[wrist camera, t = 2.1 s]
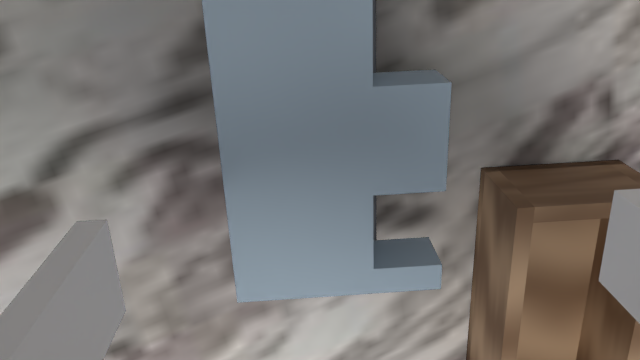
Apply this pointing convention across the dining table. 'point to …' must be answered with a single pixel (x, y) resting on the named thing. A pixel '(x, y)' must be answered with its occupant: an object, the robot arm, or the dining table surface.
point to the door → (320, 148)
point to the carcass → (547, 265)
